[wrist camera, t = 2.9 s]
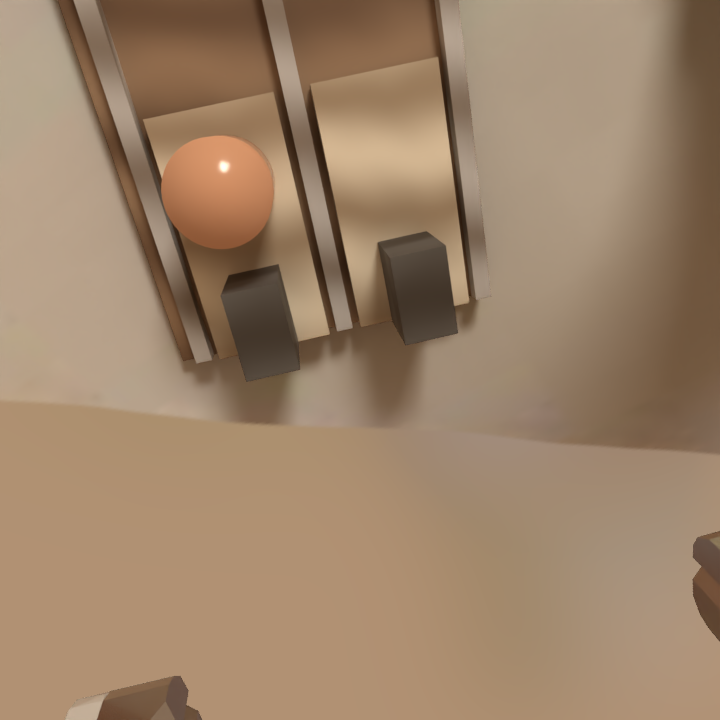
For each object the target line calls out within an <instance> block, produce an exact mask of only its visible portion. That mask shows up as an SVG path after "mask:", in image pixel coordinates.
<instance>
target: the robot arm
mask: <svg viewBox="0 0 720 720" xmlns="http://www.w3.org/2000/svg"><path fill="white" fill-rule="evenodd" d="M693 558H694V559H695V560H696V561H697V562H698V563H699V564H700V565H701V566H702V567H701V568H700V570H699V571H698V573H697V574H696V575H695V577H694V578H693V596H694V599H695V602H696V605H697V607H698V610H699V613H700V615H701V617H702V618H703V620H704V621H705V623H706V625H707V626H708V628H709V629H710V630H711V631H712V633H713V634H714V635H715V636H716V638H717V639H718V640H719V641H720V531H719V532H715V533H712V534H708V535H704V536H701V537H698V538H697V539H696V541H695V543H694V545H693ZM187 697H188V689H187V687H186V685H185V684H184V682H183V680H182V678H181V677H180V676H173V677H168V678H164V679H160V680H156V681H151V682H147V683H143V684H139V685H135V686H130V687H126V688H121V689H117V690H113V691H110V692H107V693H103V694H99V695H95V696H90V697H86V698H82V699H78V700H77V701H76V702H75V703H74V704H73V705H72V707H71V708H70V709H69V711H68V713H67V715H66V718H65V720H202V718H201V716H200V714H199V712H198V711H197V710H195V709H193V708H191V707H189V706H187V705H186V703H187Z"/></svg>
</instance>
